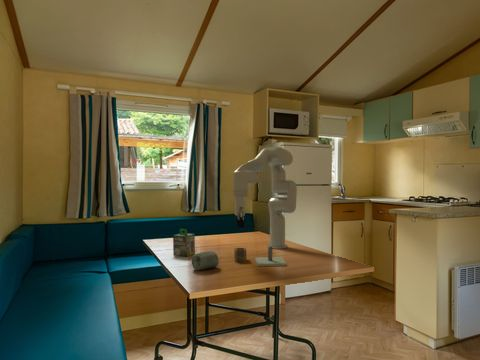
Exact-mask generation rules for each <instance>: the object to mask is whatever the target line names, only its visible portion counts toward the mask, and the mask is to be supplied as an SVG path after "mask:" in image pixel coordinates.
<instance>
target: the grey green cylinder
mask: <svg viewBox="0 0 480 360" xmlns="http://www.w3.org/2000/svg"><path fill="white" fill-rule="evenodd" d="M190 260H191V265H192V268H193V269H194V270H195V271H197V272H198V271H202V270H208V269H213V268H216V267H218V266H219V257H218V254H217V253H216V252H215V251H211V250H210V251H202V252H198V253H195V254H192V255H191V259H190Z"/></svg>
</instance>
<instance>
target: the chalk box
mask: <svg viewBox="0 0 480 360" xmlns="http://www.w3.org/2000/svg"><path fill="white" fill-rule="evenodd" d="M195 236H196V234H195V233H188V229H187V228H179V233H177V234H174V235H173V236H172V238H173V239H172V240H173V241H172V244H173V245H172V246H173V249H172V250H173V256H177V257H184V258H185V257H186V258H187V257H189V256H193V255H194V254H196V238H195Z"/></svg>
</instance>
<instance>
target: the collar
mask: <svg viewBox="0 0 480 360" xmlns="http://www.w3.org/2000/svg"><path fill="white" fill-rule="evenodd" d="M233 249H234V254H233V256H234V257H233V259H234V262H236V263H239V262H242V263H243V262H246V263H247V249H246V247H234V248H233Z"/></svg>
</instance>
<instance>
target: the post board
mask: <svg viewBox="0 0 480 360" xmlns="http://www.w3.org/2000/svg"><path fill="white" fill-rule="evenodd" d="M254 260H255V263H256V265H257V266H258V267H286V266H287V263H286V261H285V260H284V259H283V257H281V256H273V248H272V246H268V245H267V256H266V257H265V256H264V257H263V256H262V257H261V256H259V257H256V256H255V258H254Z"/></svg>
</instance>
